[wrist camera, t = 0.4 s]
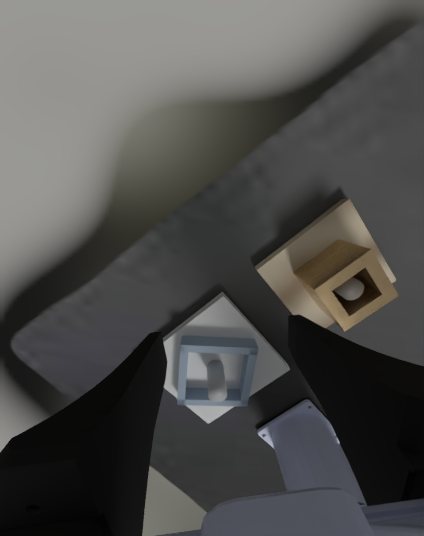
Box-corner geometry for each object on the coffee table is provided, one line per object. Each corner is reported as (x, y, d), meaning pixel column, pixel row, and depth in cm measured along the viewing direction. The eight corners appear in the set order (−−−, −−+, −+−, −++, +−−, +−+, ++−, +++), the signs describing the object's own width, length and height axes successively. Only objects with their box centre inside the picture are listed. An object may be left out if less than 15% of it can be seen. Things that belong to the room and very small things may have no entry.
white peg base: (287, 362, 25) (305, 396, 21) (207, 415, 27) (209, 456, 23) (222, 291, 22) (228, 314, 18) (137, 357, 24) (124, 392, 19)
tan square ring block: (362, 277, 21) (398, 295, 17) (319, 308, 22) (344, 331, 18) (338, 239, 20) (371, 249, 16) (293, 272, 21) (314, 290, 17)
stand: (388, 276, 22) (432, 295, 18) (306, 332, 24) (330, 361, 20) (342, 198, 20) (381, 199, 15) (254, 267, 21) (267, 284, 17)
